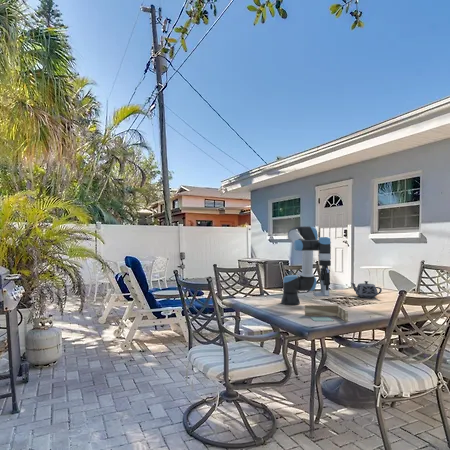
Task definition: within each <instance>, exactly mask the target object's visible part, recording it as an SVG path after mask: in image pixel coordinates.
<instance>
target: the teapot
mask: <svg viewBox="0 0 450 450" xmlns="http://www.w3.org/2000/svg"><path fill="white" fill-rule="evenodd" d="M350 284H351V285H352V288H353V289H352V290H353V291H354V292H355V294H356V295H357V297H359V298H362V297H363V299H375V298H376V297H377V296H379V295H380V294H382V291H383V290H382V287H379V286H376V284H373V283H369V281H368V280H364V282H363V283H358V284H357V287H356V285H355V283H354V282H350ZM378 290H379V291H378ZM374 297H375V298H374Z"/></svg>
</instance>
